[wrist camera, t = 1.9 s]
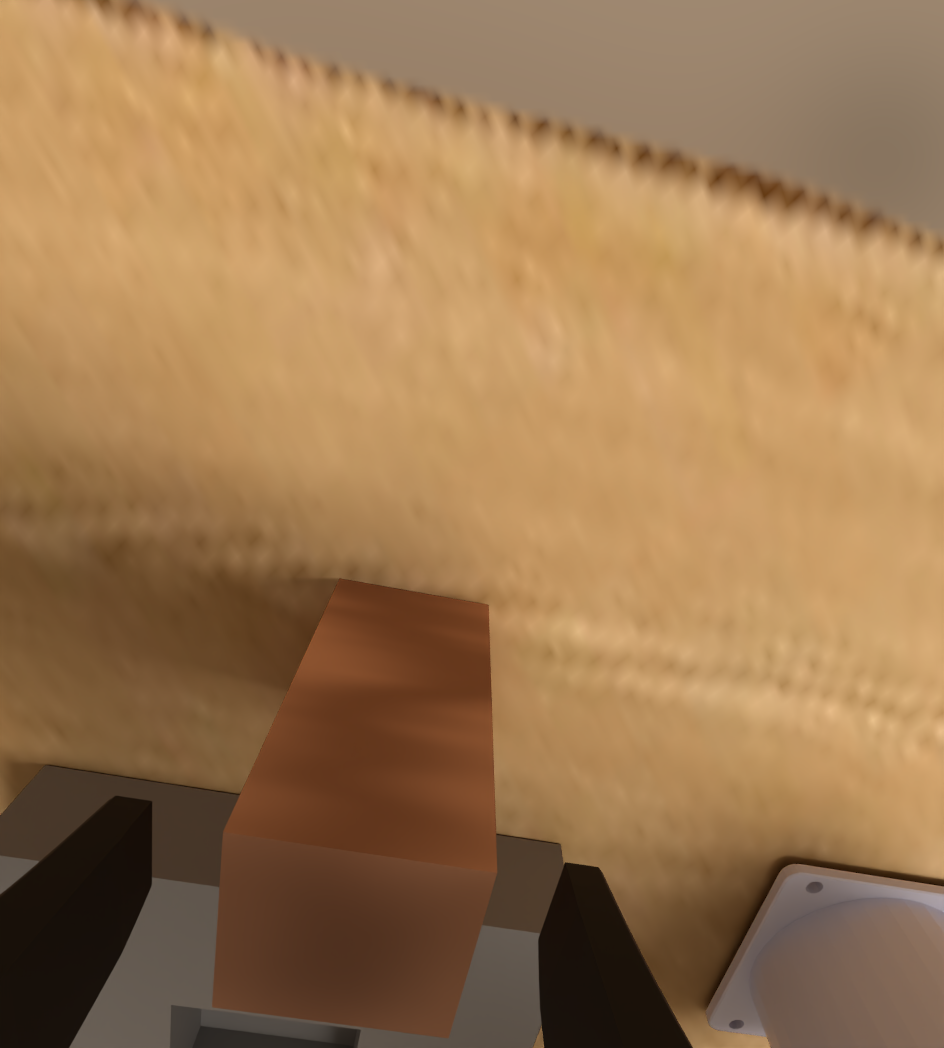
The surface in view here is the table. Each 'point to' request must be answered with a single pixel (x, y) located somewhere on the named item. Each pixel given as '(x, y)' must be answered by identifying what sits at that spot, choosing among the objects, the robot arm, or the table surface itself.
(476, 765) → the square peg
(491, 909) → the socket block
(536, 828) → the table surface
